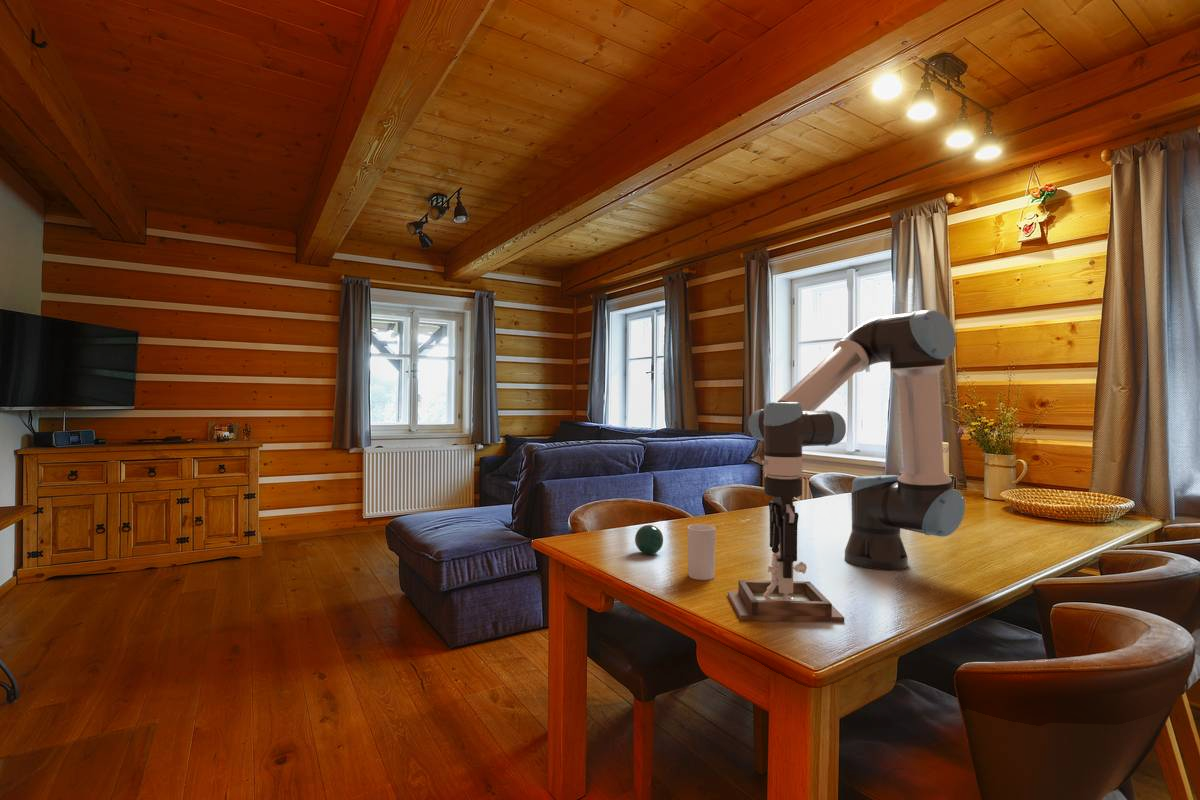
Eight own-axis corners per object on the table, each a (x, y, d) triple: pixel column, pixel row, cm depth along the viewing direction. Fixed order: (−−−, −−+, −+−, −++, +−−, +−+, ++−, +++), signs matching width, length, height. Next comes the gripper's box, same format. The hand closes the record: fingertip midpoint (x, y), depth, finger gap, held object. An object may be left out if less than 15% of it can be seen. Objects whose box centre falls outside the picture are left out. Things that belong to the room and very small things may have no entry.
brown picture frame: (819, 597, 124) (819, 581, 124) (844, 622, 110) (844, 604, 110) (727, 595, 125) (727, 579, 125) (740, 620, 111) (740, 602, 111)
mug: (717, 581, 135) (717, 530, 135) (688, 580, 136) (688, 530, 136) (711, 568, 145) (711, 521, 145) (685, 567, 146) (685, 521, 146)
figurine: (757, 600, 118) (757, 543, 118) (791, 594, 122) (792, 538, 121) (772, 608, 114) (773, 549, 113) (808, 601, 117) (808, 544, 117)
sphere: (629, 554, 158) (629, 526, 158) (644, 548, 164) (644, 520, 164) (654, 559, 153) (654, 529, 153) (668, 552, 160) (668, 524, 160)
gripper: (755, 470, 126) (755, 575, 126) (775, 482, 109) (775, 603, 109) (789, 470, 126) (789, 575, 126) (814, 482, 109) (814, 604, 109)
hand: (782, 588), depth 118 cm, fingers closed on figurine, 4 cm apart
